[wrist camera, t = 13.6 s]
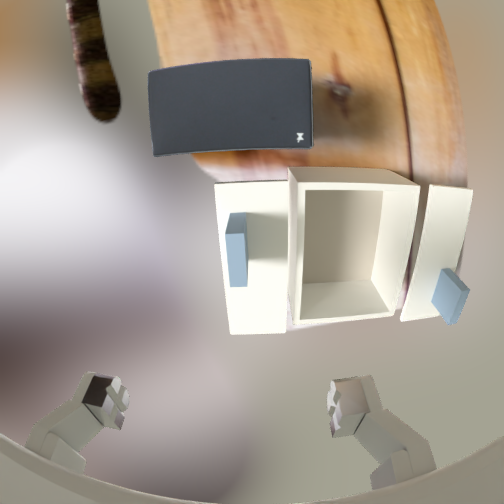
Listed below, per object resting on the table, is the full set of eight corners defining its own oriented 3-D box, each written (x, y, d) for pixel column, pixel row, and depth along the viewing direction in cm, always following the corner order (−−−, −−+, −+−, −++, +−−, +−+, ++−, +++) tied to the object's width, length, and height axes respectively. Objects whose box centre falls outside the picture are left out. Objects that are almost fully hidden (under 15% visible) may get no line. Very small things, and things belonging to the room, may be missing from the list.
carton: (287, 166, 27) (297, 182, 21) (387, 169, 27) (420, 185, 21) (286, 285, 34) (293, 324, 27) (372, 280, 33) (393, 315, 27)
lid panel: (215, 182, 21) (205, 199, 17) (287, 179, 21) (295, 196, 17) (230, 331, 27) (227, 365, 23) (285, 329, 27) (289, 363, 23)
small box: (293, 76, 23) (315, 54, 14) (294, 140, 26) (317, 153, 17) (183, 83, 23) (144, 67, 14) (187, 145, 26) (151, 162, 17)
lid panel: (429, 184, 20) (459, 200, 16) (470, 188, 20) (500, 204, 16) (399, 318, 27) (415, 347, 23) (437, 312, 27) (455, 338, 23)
